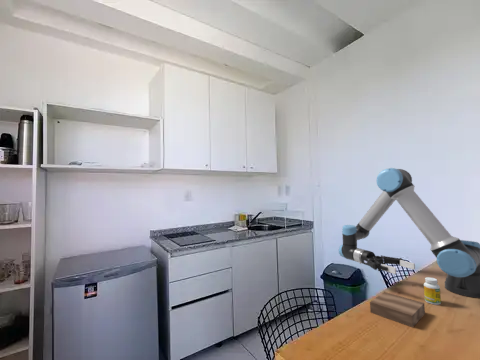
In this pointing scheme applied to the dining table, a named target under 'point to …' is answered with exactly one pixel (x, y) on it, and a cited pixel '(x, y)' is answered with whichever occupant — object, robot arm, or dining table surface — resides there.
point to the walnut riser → (398, 308)
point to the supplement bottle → (432, 291)
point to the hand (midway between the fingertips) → (405, 268)
